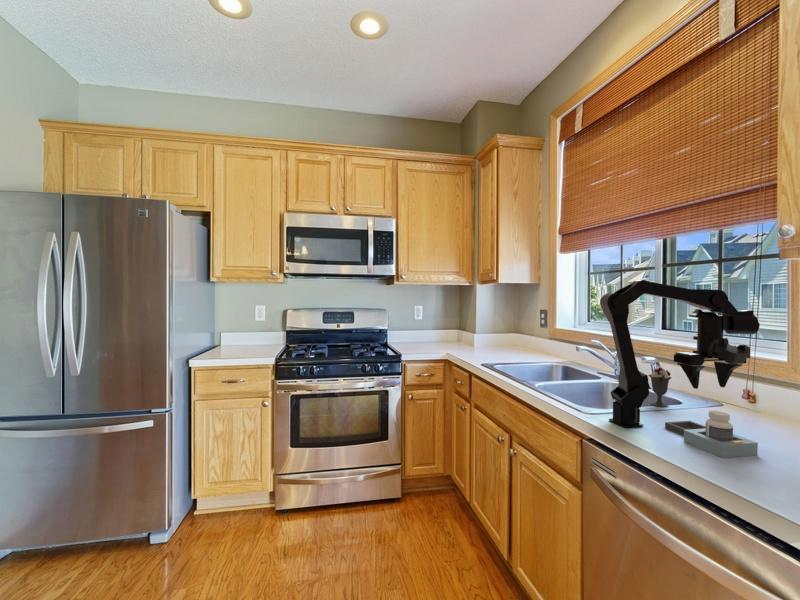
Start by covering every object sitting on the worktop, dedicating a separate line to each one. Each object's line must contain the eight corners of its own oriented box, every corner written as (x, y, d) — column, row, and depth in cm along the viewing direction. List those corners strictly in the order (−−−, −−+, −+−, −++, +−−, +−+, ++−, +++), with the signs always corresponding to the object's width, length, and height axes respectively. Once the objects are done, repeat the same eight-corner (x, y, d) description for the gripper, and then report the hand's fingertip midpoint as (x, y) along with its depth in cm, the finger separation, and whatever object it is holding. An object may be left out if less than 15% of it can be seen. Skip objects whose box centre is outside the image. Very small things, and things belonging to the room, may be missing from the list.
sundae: (648, 406, 127) (648, 362, 127) (647, 401, 133) (648, 360, 132) (671, 409, 123) (672, 365, 123) (670, 404, 129) (671, 361, 129)
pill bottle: (738, 453, 90) (738, 417, 90) (713, 451, 91) (714, 415, 91) (723, 444, 95) (724, 410, 95) (700, 442, 96) (701, 409, 96)
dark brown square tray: (692, 439, 98) (693, 433, 98) (665, 427, 107) (665, 422, 106) (718, 437, 100) (719, 431, 100) (689, 425, 108) (689, 420, 108)
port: (723, 458, 87) (723, 444, 87) (683, 441, 97) (683, 428, 97) (757, 454, 89) (757, 441, 89) (715, 438, 99) (715, 426, 98)
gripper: (711, 337, 95) (710, 397, 96) (769, 336, 99) (767, 394, 99) (672, 332, 106) (671, 386, 106) (725, 331, 110) (724, 383, 110)
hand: (709, 387), depth 105 cm, fingers open, 9 cm apart
